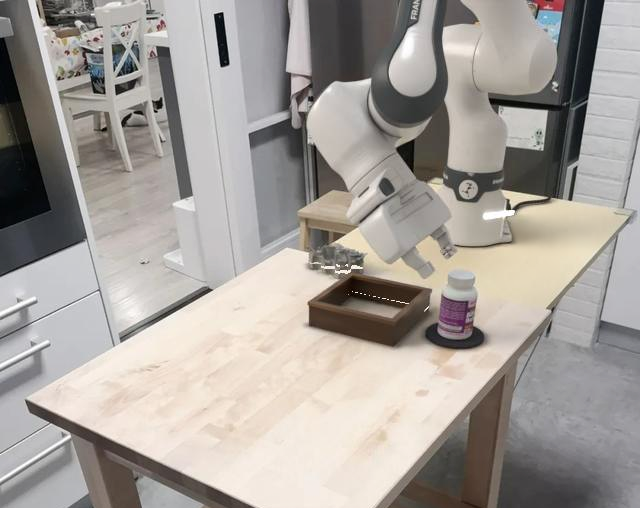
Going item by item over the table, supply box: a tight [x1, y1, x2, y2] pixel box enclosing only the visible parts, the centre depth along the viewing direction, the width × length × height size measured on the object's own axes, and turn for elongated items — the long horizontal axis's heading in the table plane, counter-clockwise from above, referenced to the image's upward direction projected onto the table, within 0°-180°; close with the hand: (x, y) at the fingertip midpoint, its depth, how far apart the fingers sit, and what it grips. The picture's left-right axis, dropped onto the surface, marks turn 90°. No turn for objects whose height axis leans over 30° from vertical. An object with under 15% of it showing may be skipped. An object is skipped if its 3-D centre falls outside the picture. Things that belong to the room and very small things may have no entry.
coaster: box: [425, 322, 485, 350], centre depth 111 cm, size 9×9×1 cm
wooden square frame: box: [307, 272, 433, 347], centre depth 115 cm, size 15×15×4 cm
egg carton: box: [304, 242, 369, 280], centre depth 133 cm, size 11×8×4 cm
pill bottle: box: [437, 269, 479, 340], centre depth 108 cm, size 5×5×10 cm
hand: (441, 265), depth 107 cm, fingers open, 8 cm apart
